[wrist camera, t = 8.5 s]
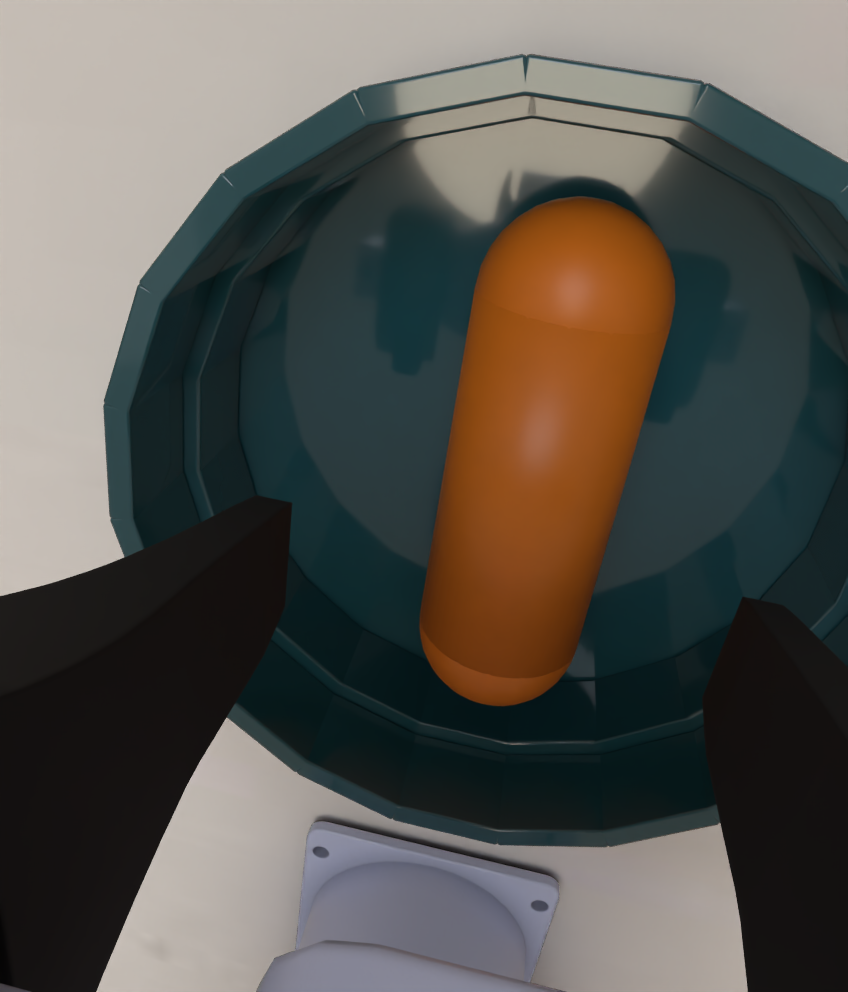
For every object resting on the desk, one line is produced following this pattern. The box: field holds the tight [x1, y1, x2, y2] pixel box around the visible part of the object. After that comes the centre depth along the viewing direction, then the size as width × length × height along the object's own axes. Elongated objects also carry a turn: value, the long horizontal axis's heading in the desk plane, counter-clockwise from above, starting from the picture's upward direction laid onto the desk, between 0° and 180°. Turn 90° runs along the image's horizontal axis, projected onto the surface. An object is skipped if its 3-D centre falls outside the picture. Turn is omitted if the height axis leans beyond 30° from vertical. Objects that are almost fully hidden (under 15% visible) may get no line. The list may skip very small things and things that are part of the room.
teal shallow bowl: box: [103, 54, 848, 847], centre depth 16 cm, size 15×15×5 cm
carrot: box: [419, 196, 675, 706], centre depth 16 cm, size 11×4×4 cm, turn 172°
